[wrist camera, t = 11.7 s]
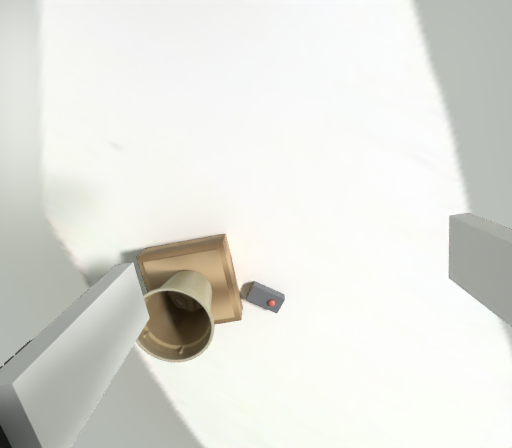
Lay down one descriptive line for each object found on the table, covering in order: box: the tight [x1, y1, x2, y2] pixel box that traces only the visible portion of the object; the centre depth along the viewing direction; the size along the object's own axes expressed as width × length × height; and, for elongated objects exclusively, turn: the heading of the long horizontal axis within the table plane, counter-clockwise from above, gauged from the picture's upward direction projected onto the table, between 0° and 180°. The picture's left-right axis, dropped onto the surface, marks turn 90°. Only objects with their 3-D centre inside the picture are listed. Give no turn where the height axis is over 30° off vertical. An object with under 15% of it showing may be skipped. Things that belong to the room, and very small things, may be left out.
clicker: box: [246, 281, 285, 313], centre depth 46 cm, size 5×3×2 cm, turn 65°
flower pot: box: [136, 271, 214, 362], centre depth 38 cm, size 9×9×9 cm
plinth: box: [136, 234, 243, 324], centre depth 44 cm, size 12×12×4 cm
